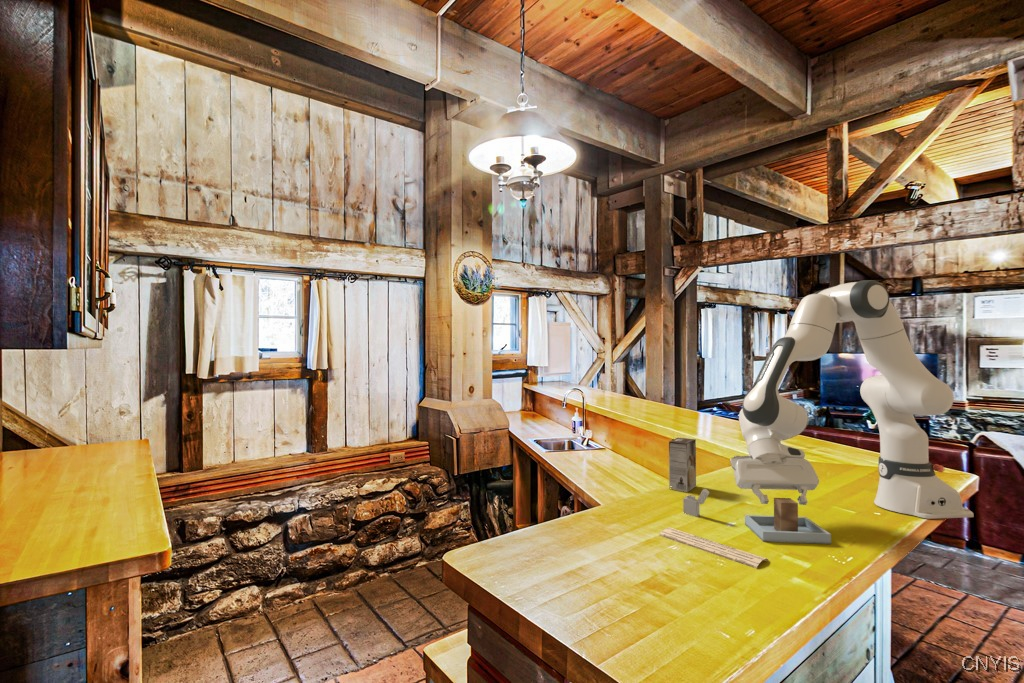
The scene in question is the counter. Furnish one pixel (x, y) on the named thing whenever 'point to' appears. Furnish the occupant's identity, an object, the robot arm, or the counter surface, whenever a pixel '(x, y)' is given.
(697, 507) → the lighter
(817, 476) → the robot arm
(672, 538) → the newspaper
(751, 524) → the slate tray
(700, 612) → the counter surface
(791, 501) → the walnut block
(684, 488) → the coffee box
